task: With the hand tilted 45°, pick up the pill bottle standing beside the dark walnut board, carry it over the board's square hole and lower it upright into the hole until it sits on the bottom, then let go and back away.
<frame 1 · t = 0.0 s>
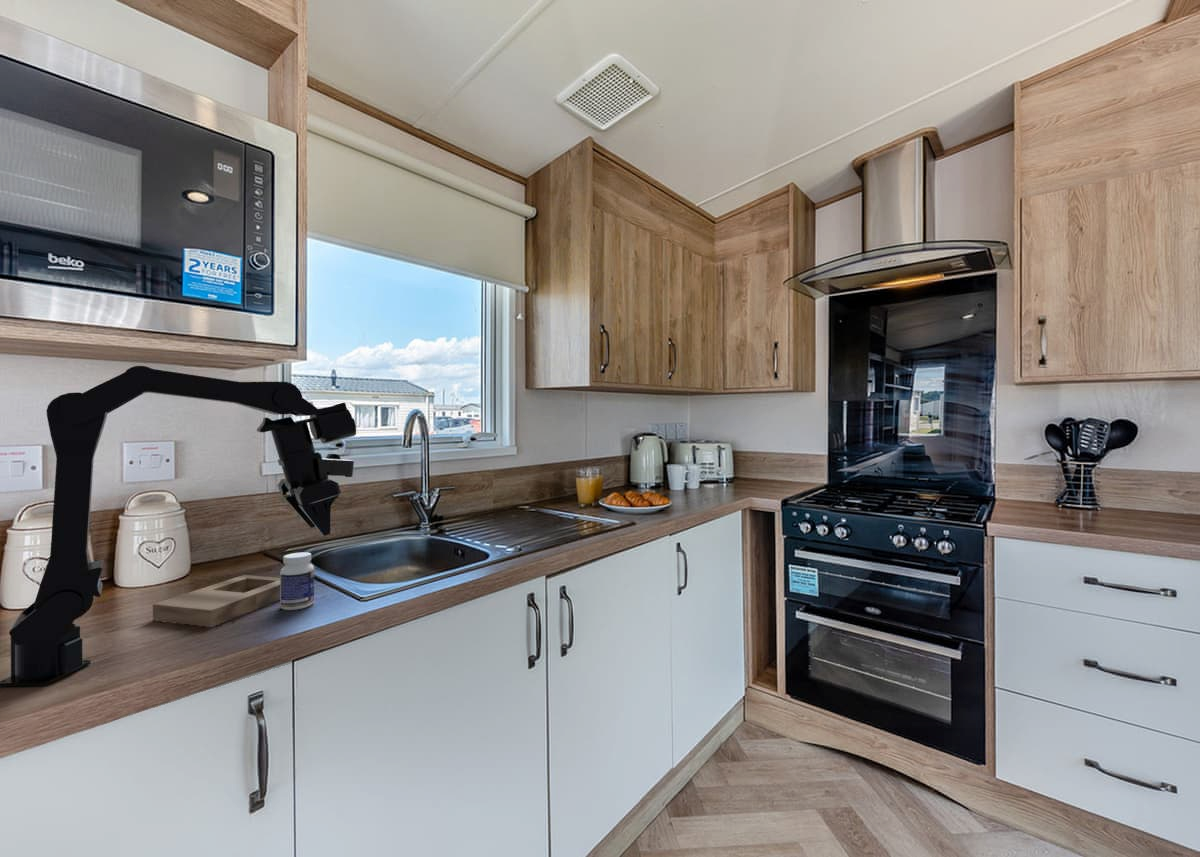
hand: (320, 530, 94), 15 cm above the worktop, tool pointing down, fingers open, 9 cm apart
walnut board: (229, 606, 97), on the worktop
pill bottle: (297, 606, 98), on the worktop
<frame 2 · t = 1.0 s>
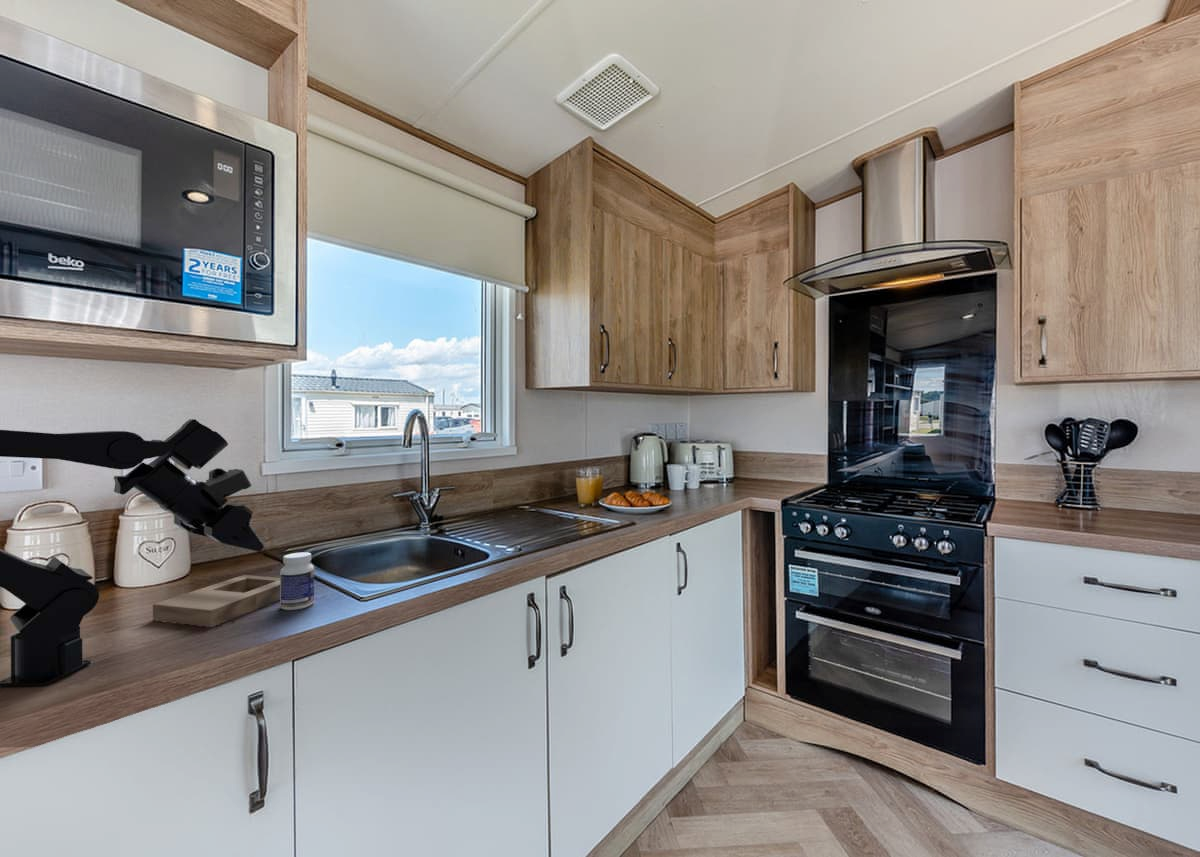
hand: (250, 545, 91), 13 cm above the worktop, tool tilted 45°, fingers open, 9 cm apart
nothing on the worktop moved.
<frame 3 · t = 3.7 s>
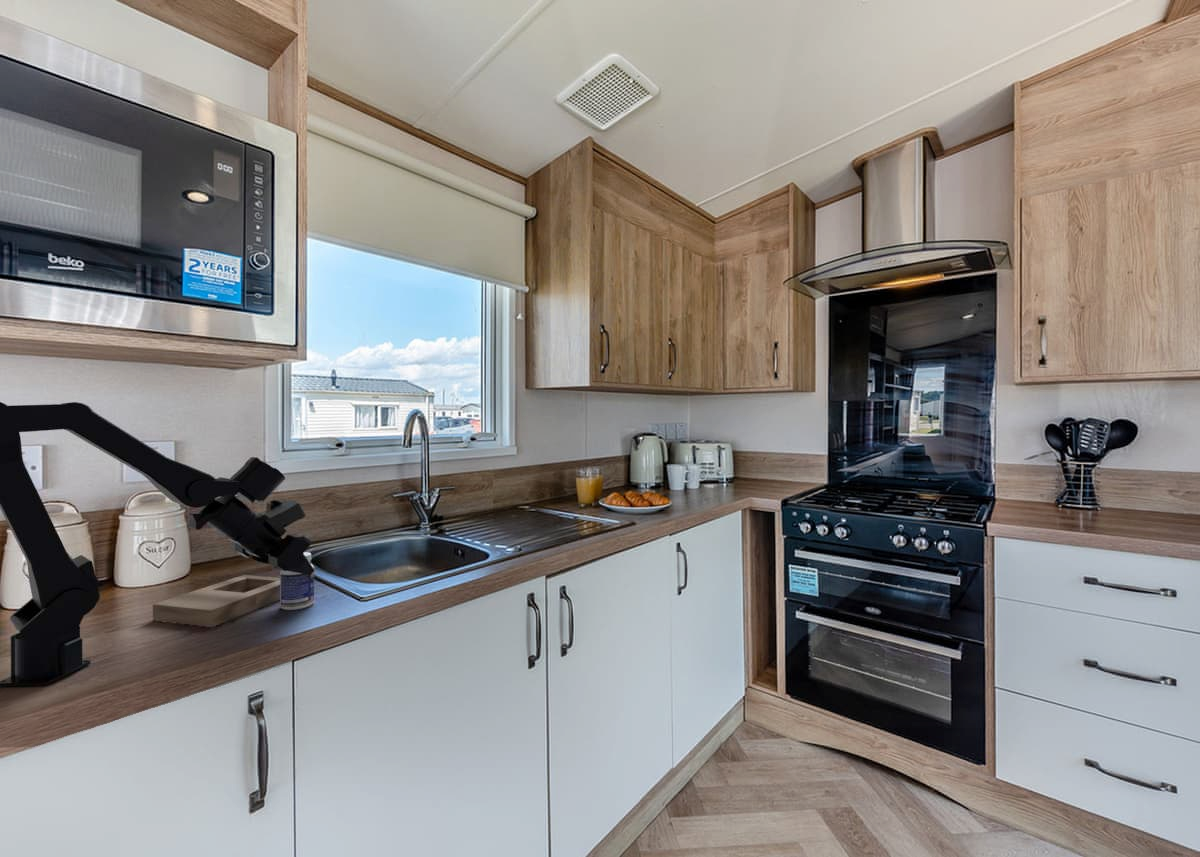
hand: (304, 570, 99), 7 cm above the worktop, tool tilted 45°, fingers closed on pill bottle, 6 cm apart
pill bottle: (297, 606, 98), on the worktop, touching gripper
when the fingers open (7 cm above the worktop, at t = 8.3 s): pill bottle stays where it is, resting in walnut board.
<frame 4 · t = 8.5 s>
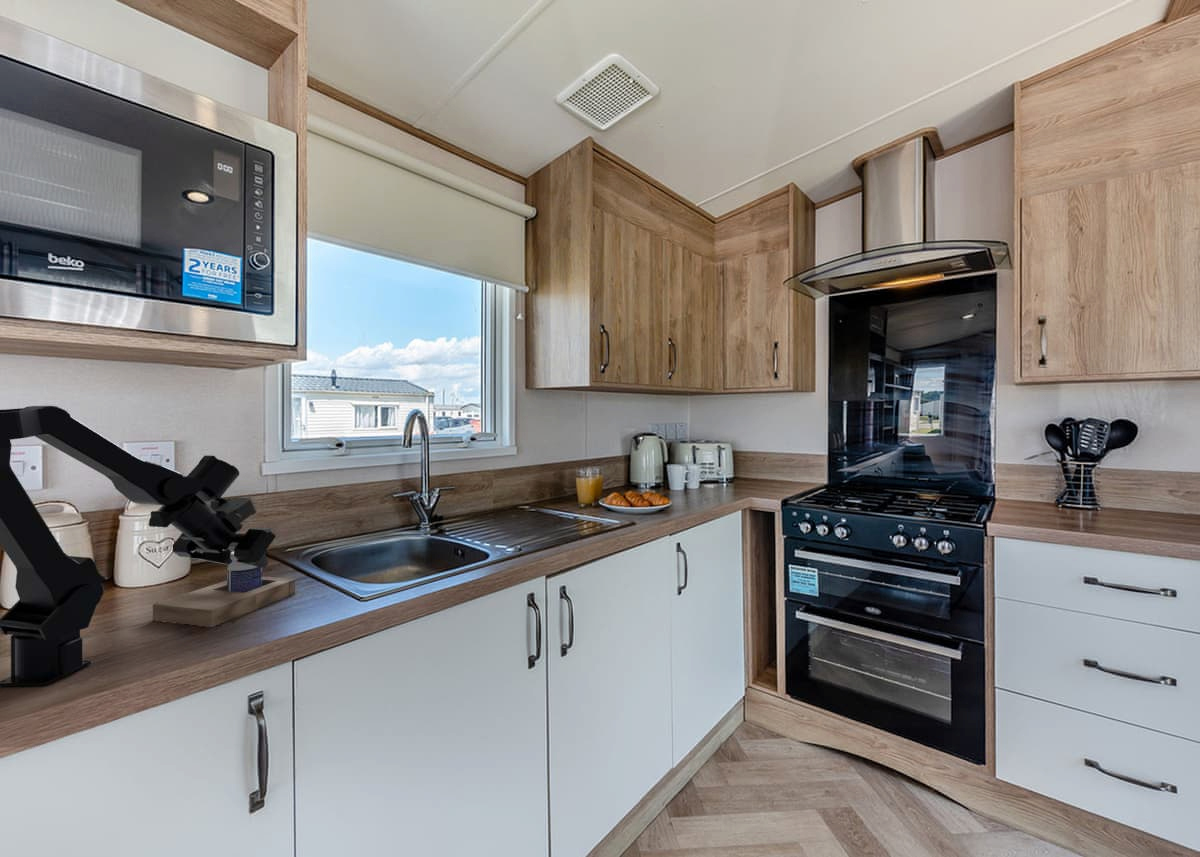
hand: (251, 564, 102), 7 cm above the worktop, tool tilted 45°, fingers open, 7 cm apart
pill bottle: (244, 601, 101), resting in walnut board
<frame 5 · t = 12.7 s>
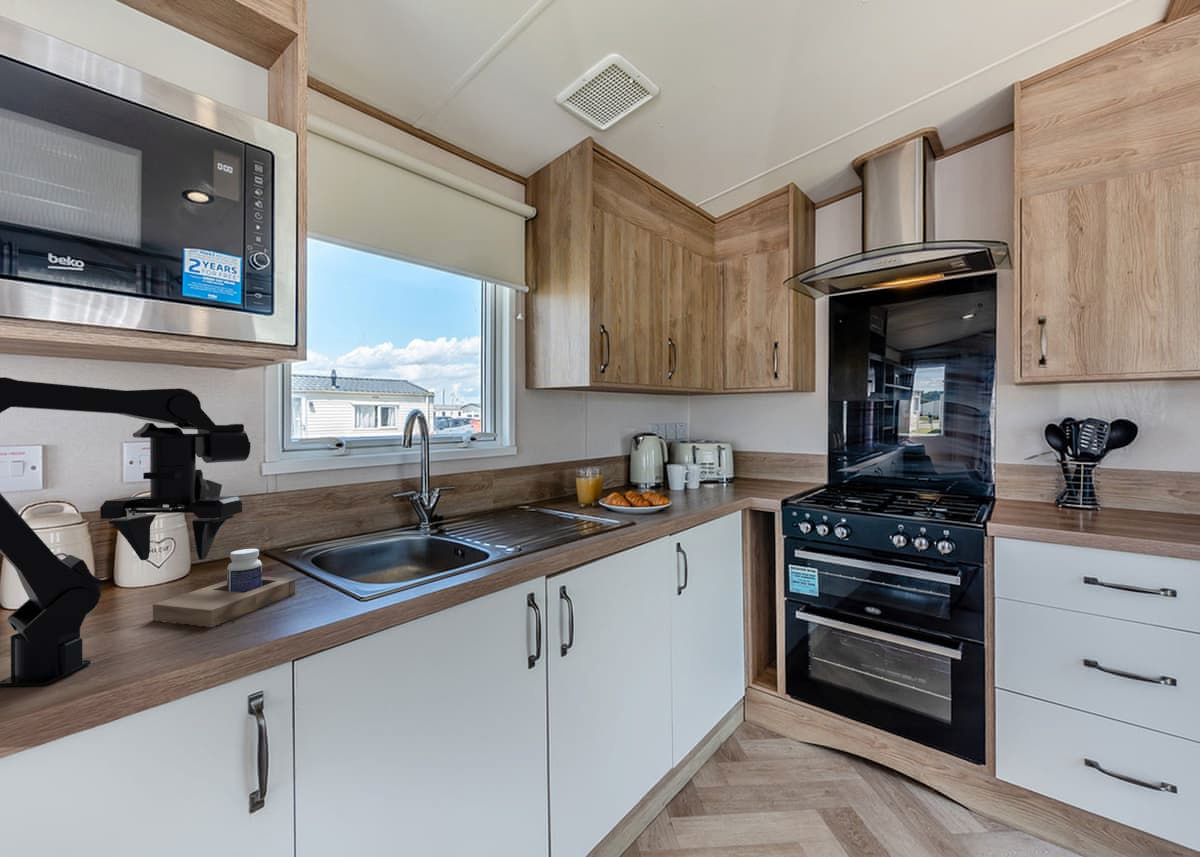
hand: (173, 559, 83), 13 cm above the worktop, tool pointing down, fingers open, 9 cm apart
nothing on the worktop moved.
at the end: pill bottle 0.2 cm from the target spot on the walnut board, point 0.0 cm above the walnut board's base; pill bottle tilted 0°; the gripper is holding nothing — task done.
